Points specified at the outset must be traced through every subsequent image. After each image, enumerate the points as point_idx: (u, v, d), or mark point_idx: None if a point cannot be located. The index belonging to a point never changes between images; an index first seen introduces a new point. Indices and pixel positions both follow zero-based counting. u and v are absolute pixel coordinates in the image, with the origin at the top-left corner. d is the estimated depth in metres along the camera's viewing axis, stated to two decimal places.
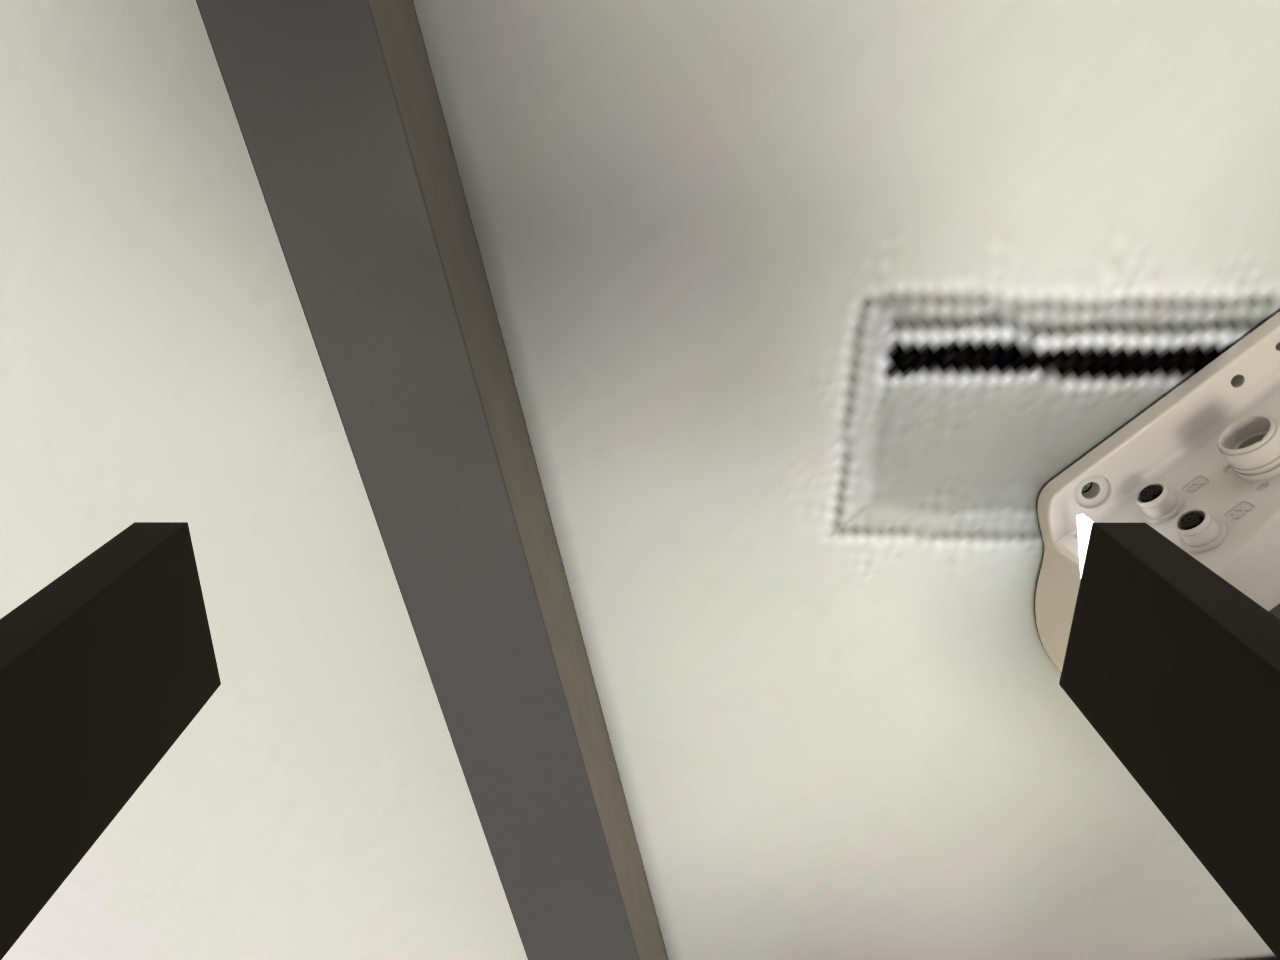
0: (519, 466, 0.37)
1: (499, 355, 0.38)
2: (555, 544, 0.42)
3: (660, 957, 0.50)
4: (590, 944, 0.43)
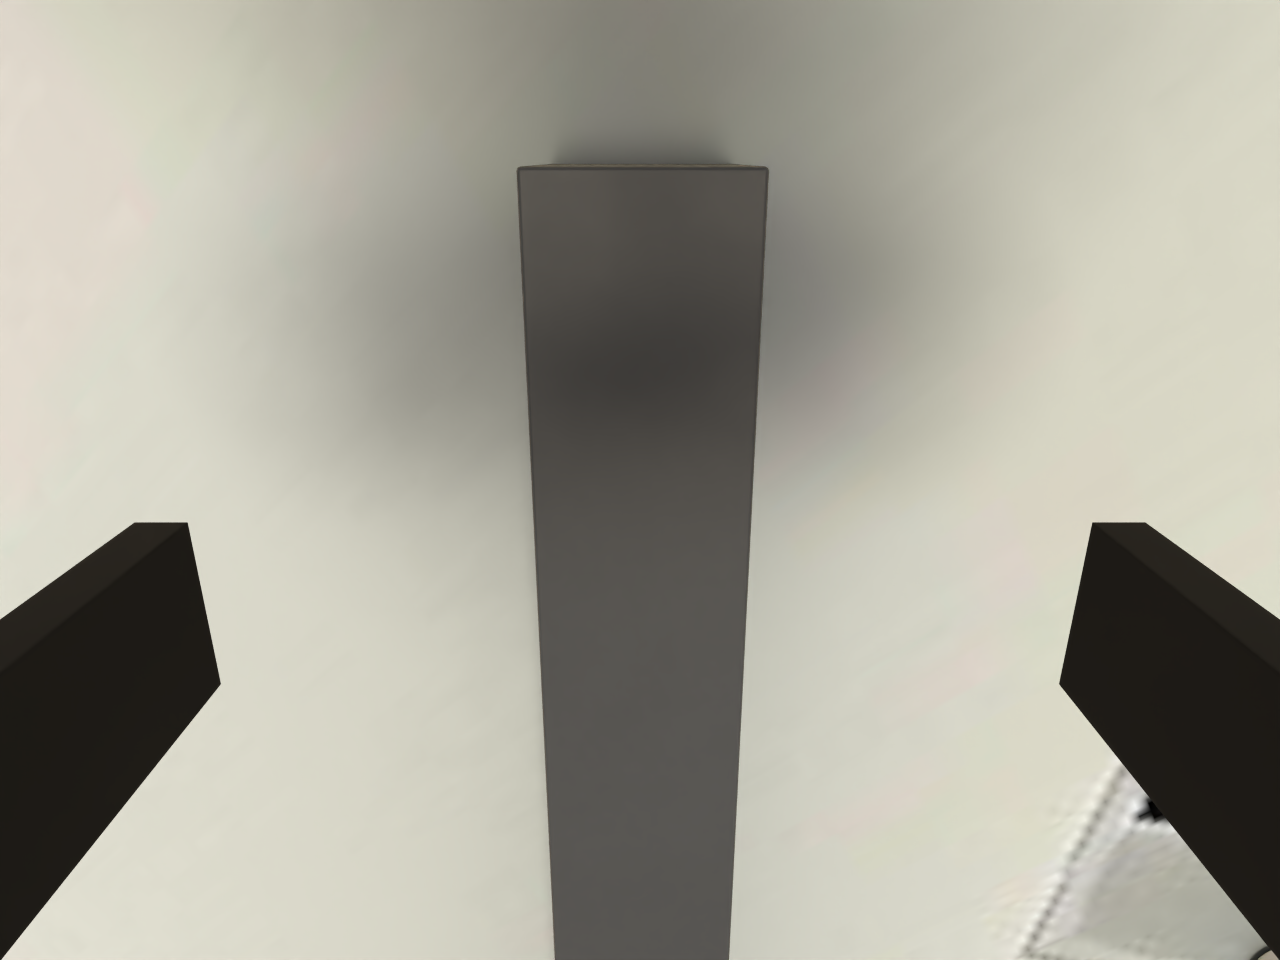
0: None
1: None
2: None
3: None
4: None
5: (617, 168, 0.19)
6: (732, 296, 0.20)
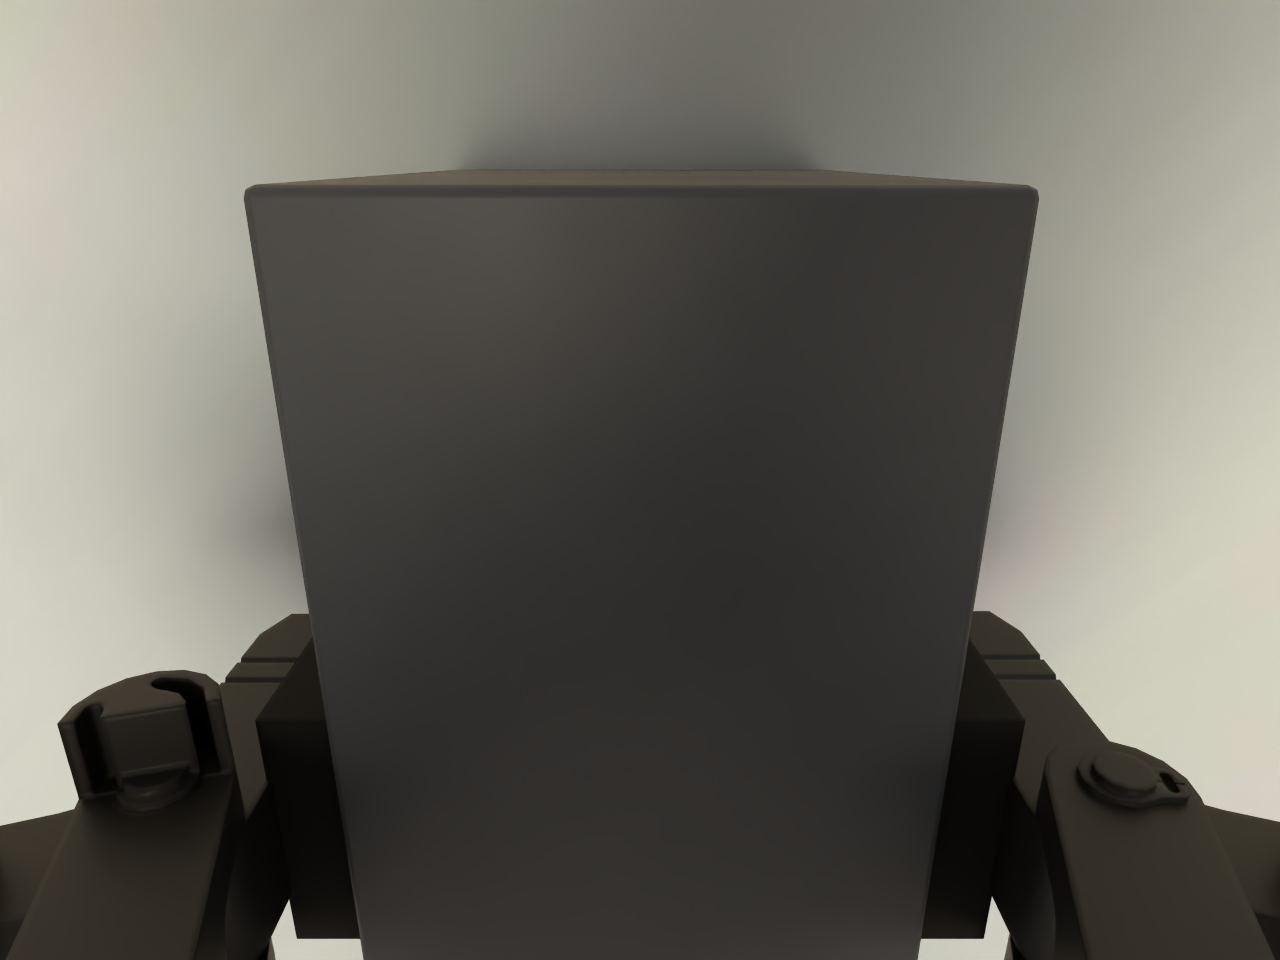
0: None
1: None
2: None
3: None
4: None
5: (561, 190, 0.06)
6: (897, 555, 0.07)
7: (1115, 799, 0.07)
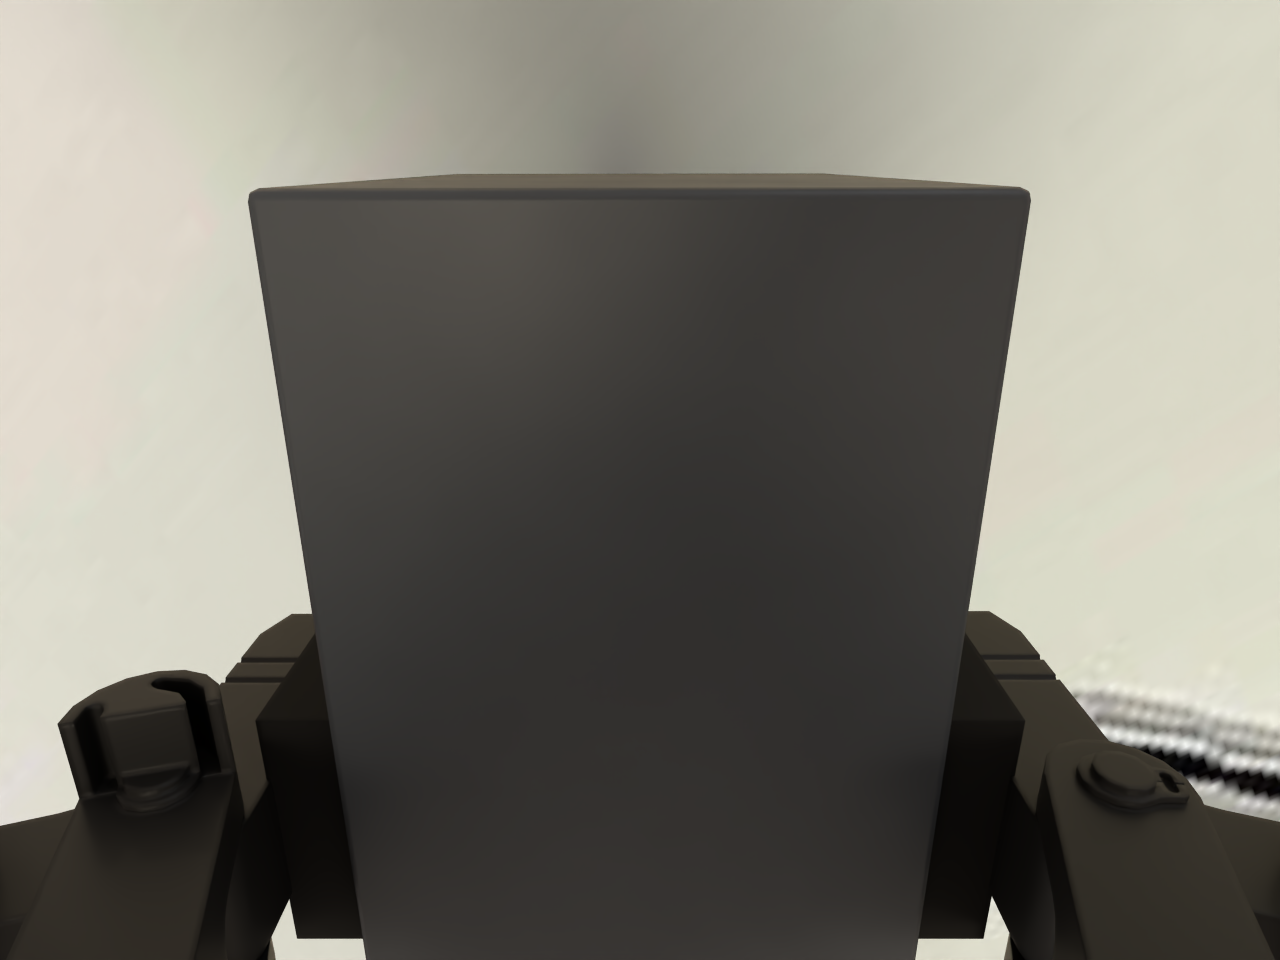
0: None
1: None
2: None
3: None
4: None
5: (560, 193, 0.06)
6: (893, 553, 0.07)
7: (1115, 801, 0.07)
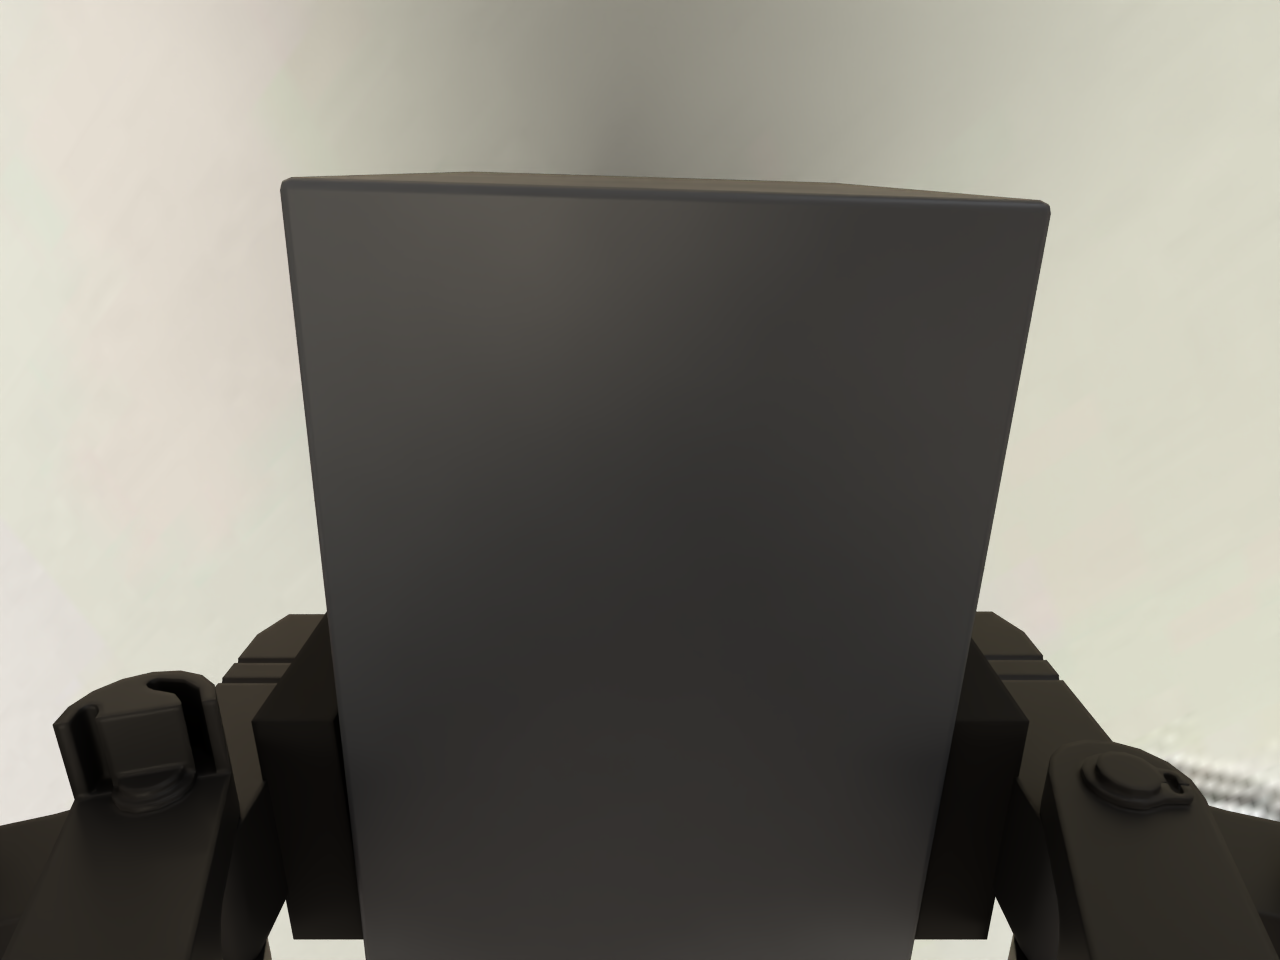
0: None
1: None
2: None
3: None
4: None
5: (590, 192, 0.06)
6: (904, 556, 0.07)
7: (1121, 802, 0.07)
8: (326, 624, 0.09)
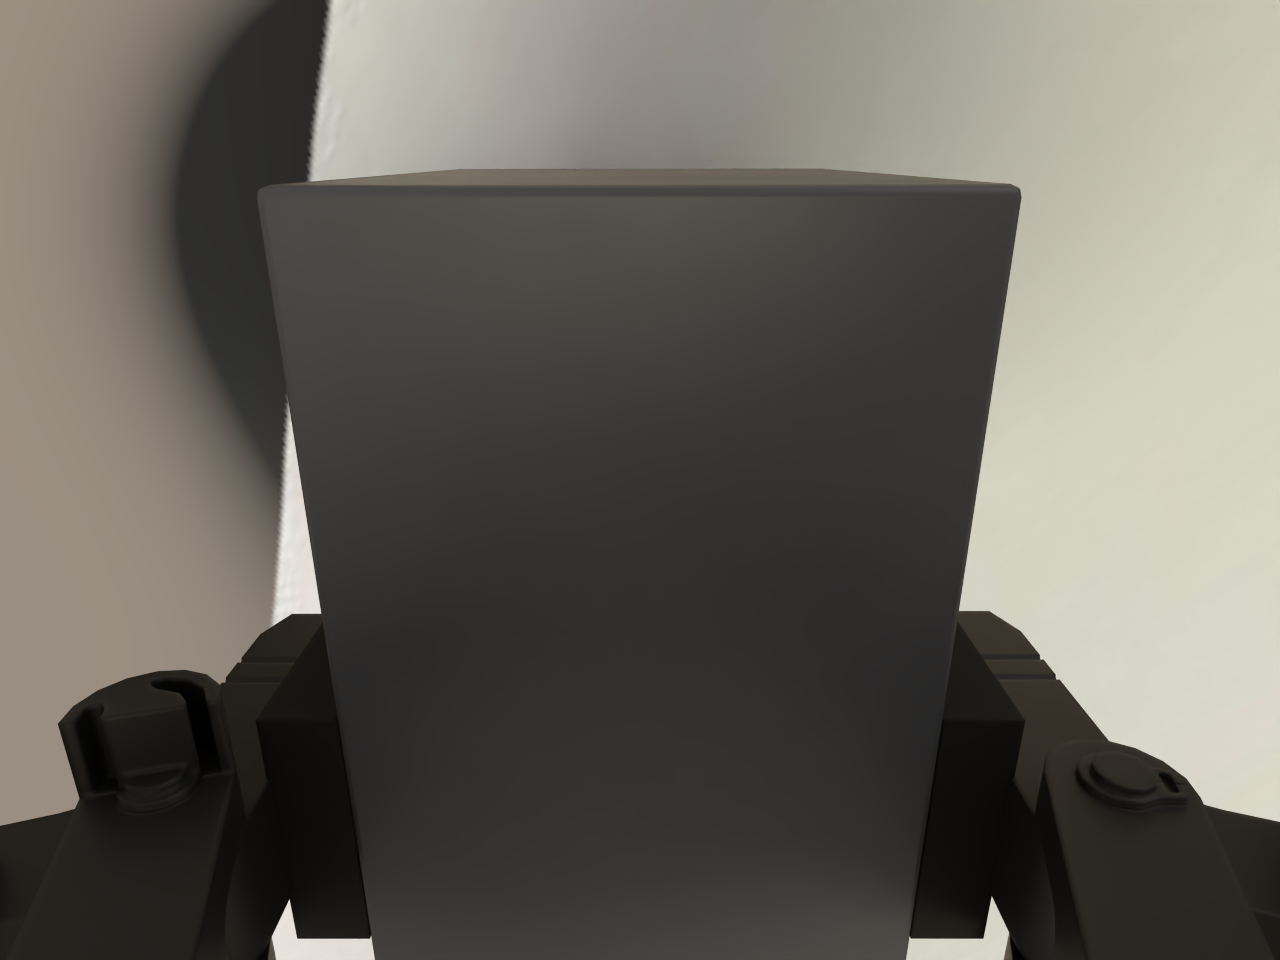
0: None
1: None
2: None
3: None
4: None
5: (562, 191, 0.06)
6: (887, 543, 0.07)
7: (1115, 801, 0.07)
8: None
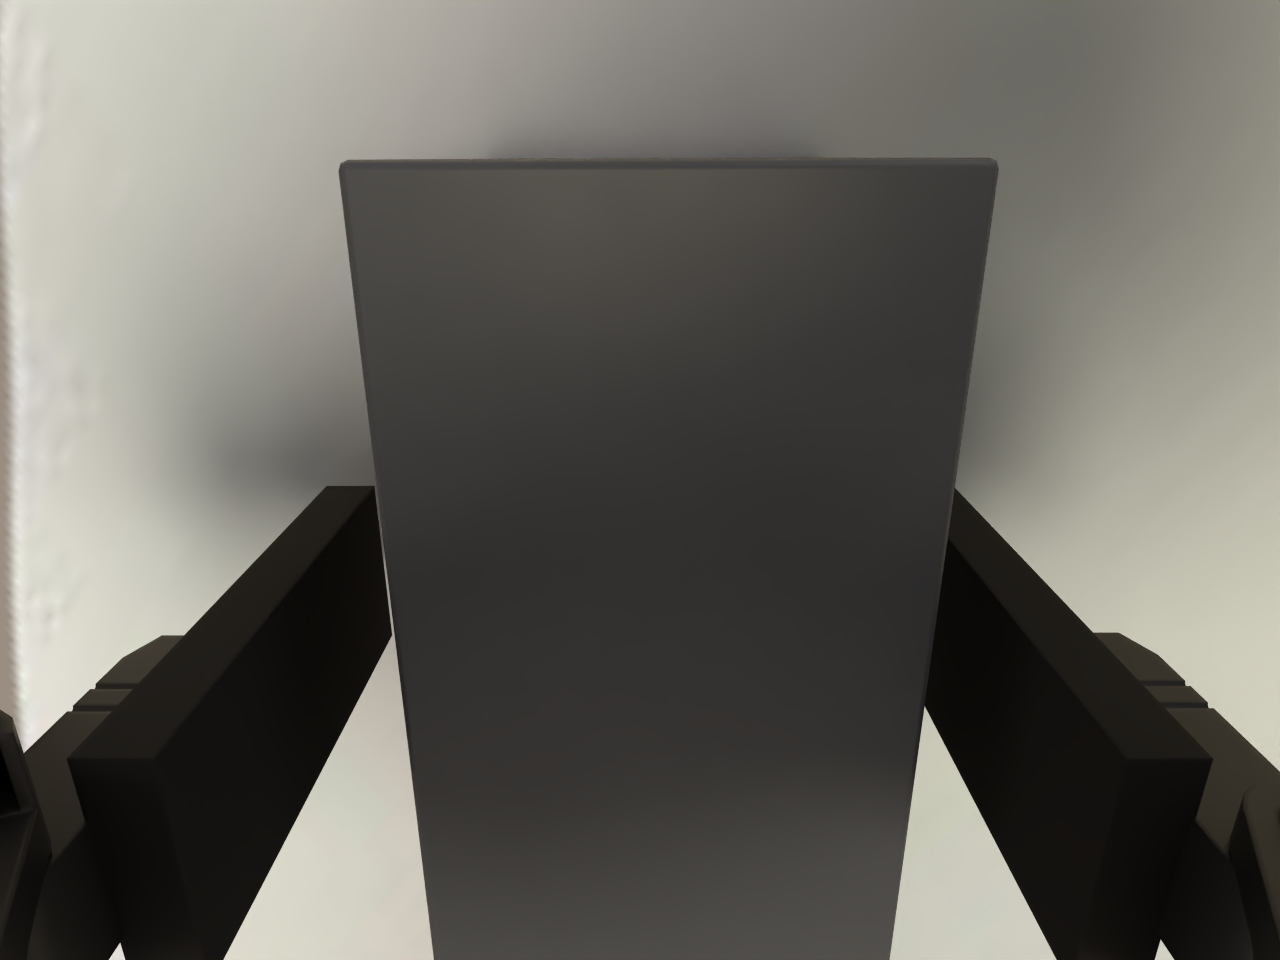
0: None
1: None
2: None
3: None
4: None
5: (602, 164, 0.07)
6: (884, 476, 0.08)
7: None
8: (179, 650, 0.09)
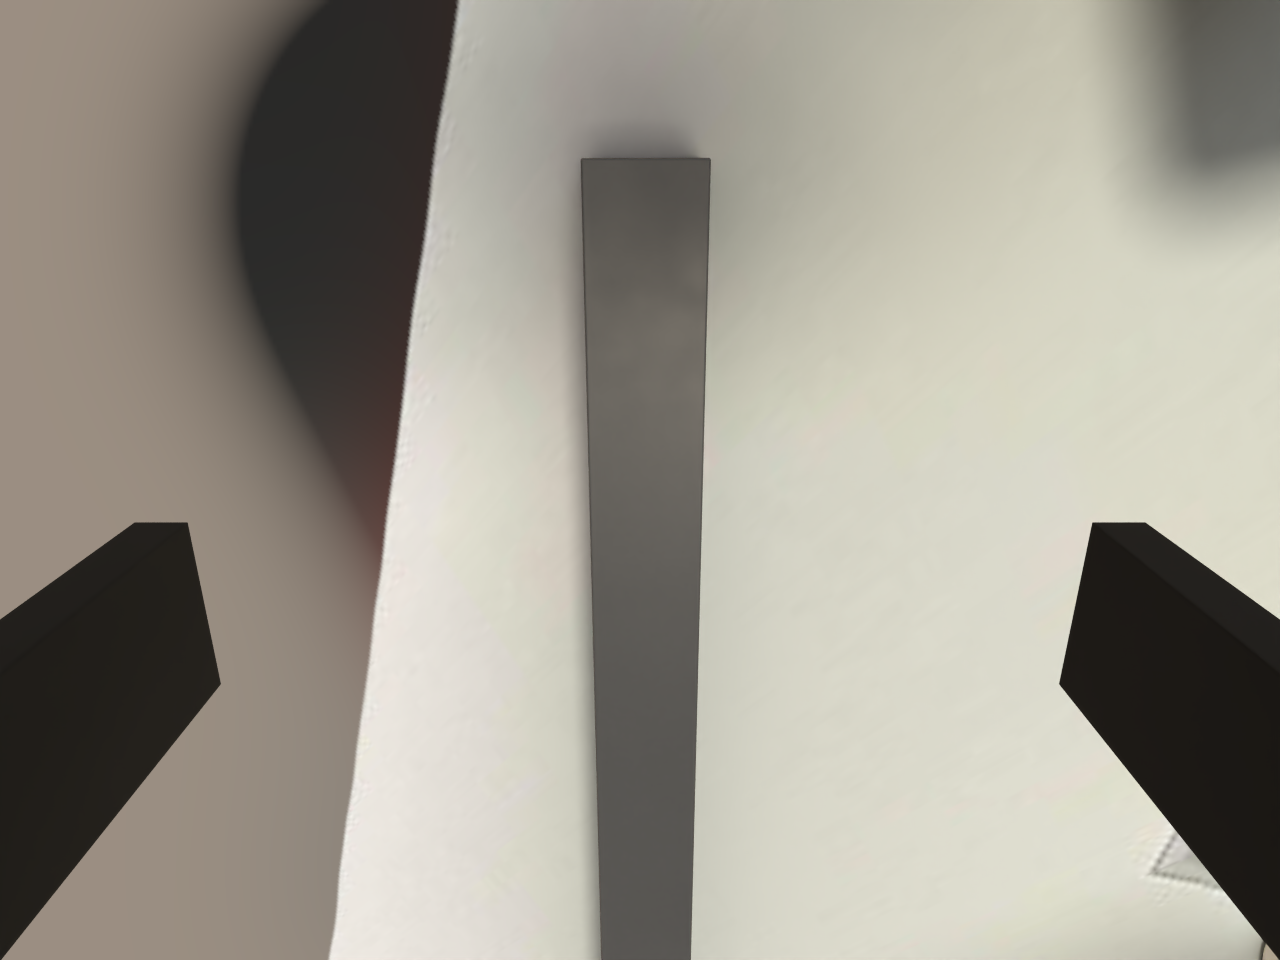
0: None
1: None
2: None
3: None
4: None
5: (632, 159, 0.37)
6: (693, 226, 0.37)
7: None
8: None
